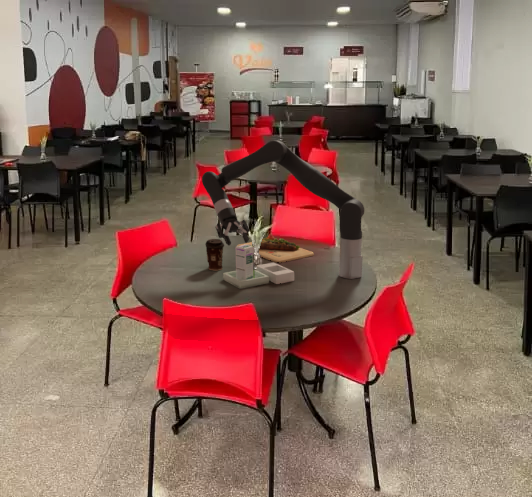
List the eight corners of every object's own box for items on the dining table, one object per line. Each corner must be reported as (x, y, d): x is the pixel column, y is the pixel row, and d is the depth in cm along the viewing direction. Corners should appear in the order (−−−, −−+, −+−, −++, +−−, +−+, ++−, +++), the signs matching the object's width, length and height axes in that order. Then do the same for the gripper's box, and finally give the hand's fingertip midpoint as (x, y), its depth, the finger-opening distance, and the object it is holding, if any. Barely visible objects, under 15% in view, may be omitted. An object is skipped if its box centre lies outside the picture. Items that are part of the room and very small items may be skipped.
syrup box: (245, 282, 270) (245, 248, 267) (235, 279, 274) (235, 246, 270) (254, 279, 275) (254, 246, 271) (244, 276, 278) (244, 243, 274)
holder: (294, 280, 276) (294, 271, 275) (276, 284, 271) (276, 275, 270) (273, 271, 289) (273, 262, 288) (256, 274, 284) (256, 265, 283)
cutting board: (235, 248, 327) (234, 233, 325) (271, 241, 341) (271, 227, 339) (278, 264, 301) (278, 249, 298) (315, 256, 314) (316, 241, 312)
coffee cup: (201, 269, 290) (201, 241, 287) (211, 264, 297) (211, 237, 294) (218, 272, 286) (217, 244, 283) (228, 267, 294) (227, 239, 290)
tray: (268, 283, 273) (268, 276, 272) (240, 288, 265) (239, 281, 264) (251, 274, 284) (251, 267, 283) (223, 279, 277) (223, 273, 276)
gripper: (213, 208, 275) (227, 240, 268) (242, 205, 282) (256, 236, 276) (207, 218, 280) (220, 250, 274) (236, 214, 288) (249, 245, 282)
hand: (238, 243), depth 275 cm, fingers open, 8 cm apart
